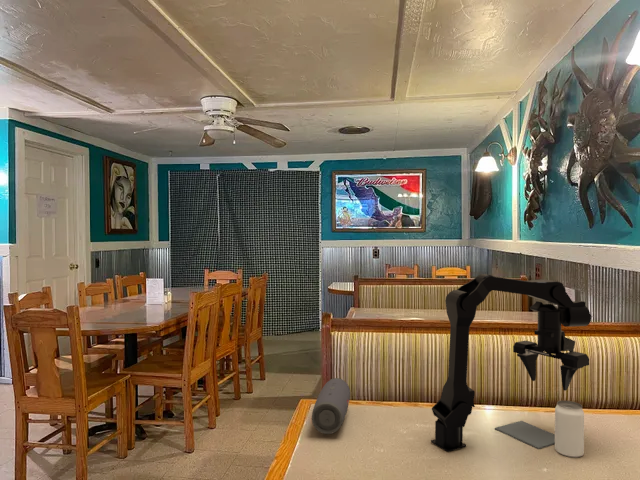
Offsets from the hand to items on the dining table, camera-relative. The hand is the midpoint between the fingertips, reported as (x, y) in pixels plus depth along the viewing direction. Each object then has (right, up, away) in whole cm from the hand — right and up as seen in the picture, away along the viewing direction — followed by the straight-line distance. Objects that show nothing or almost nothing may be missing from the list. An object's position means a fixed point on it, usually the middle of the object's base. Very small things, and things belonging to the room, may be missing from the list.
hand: (548, 385), depth 127 cm
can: (+1, -14, -8) cm, 17 cm away
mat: (-4, -14, +2) cm, 15 cm away
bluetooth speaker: (-58, -14, +10) cm, 60 cm away
